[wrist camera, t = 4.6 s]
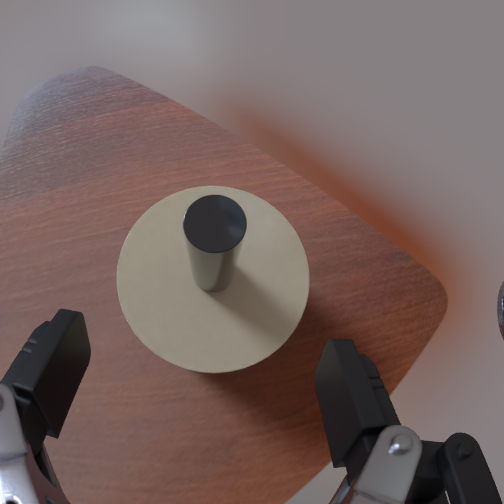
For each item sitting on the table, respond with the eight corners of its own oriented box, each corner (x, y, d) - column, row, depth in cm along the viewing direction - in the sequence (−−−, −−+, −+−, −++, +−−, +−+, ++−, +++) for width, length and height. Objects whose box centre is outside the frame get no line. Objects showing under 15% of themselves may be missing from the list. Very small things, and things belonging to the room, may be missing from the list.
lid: (305, 204, 24) (348, 130, 16) (300, 377, 20) (359, 385, 11) (140, 186, 23) (114, 105, 14) (109, 358, 18) (47, 353, 10)
